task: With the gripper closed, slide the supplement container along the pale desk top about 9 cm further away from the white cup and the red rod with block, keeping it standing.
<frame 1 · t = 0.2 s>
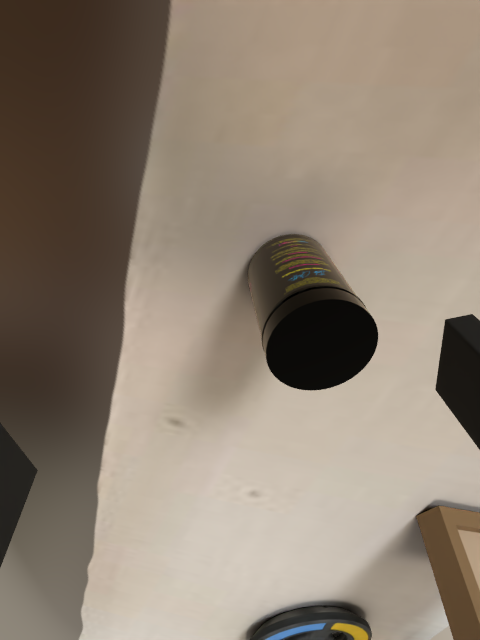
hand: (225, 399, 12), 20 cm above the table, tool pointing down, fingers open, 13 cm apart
supplement container: (286, 269, 32), on the table
electronic game: (305, 625, 74), on the table
photo frame: (459, 535, 60), on the table
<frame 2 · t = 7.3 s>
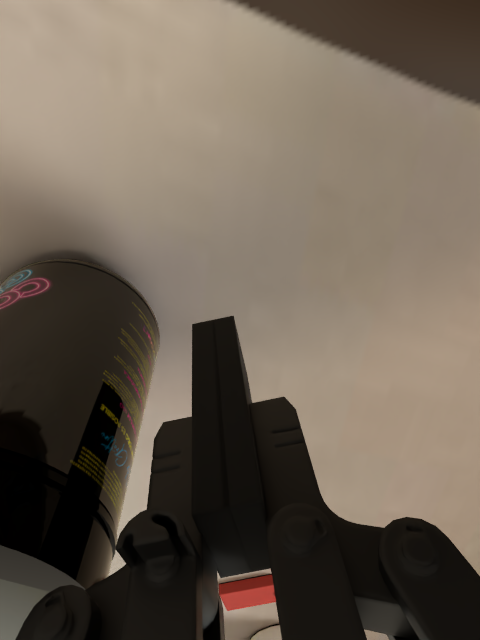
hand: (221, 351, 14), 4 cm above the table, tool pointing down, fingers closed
white cup: (282, 633, 39), on the table
supplement container: (85, 320, 17), on the table, touching gripper
red rod with block: (313, 575, 32), on the table
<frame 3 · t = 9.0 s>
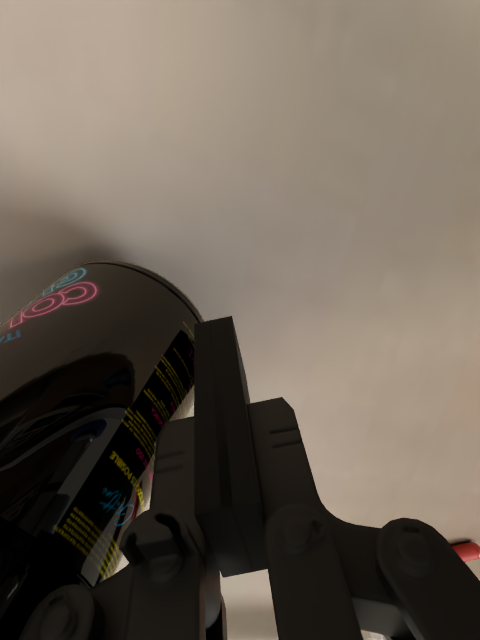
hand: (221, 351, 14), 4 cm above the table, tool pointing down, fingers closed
white cup: (341, 621, 39), on the table
supplement container: (140, 323, 16), point 1 cm above the table, touching gripper, hand
red rod with block: (385, 560, 32), on the table
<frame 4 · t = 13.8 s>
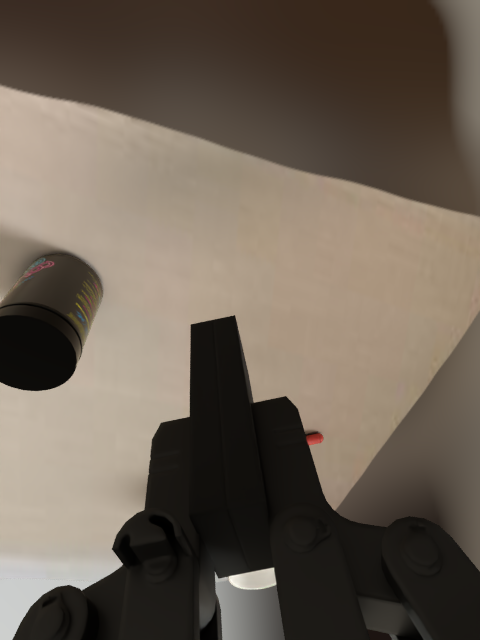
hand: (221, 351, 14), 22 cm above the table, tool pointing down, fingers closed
white cup: (249, 500, 58), on the table
supplement container: (67, 283, 36), on the table
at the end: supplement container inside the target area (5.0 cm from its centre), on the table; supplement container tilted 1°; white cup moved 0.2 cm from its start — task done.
